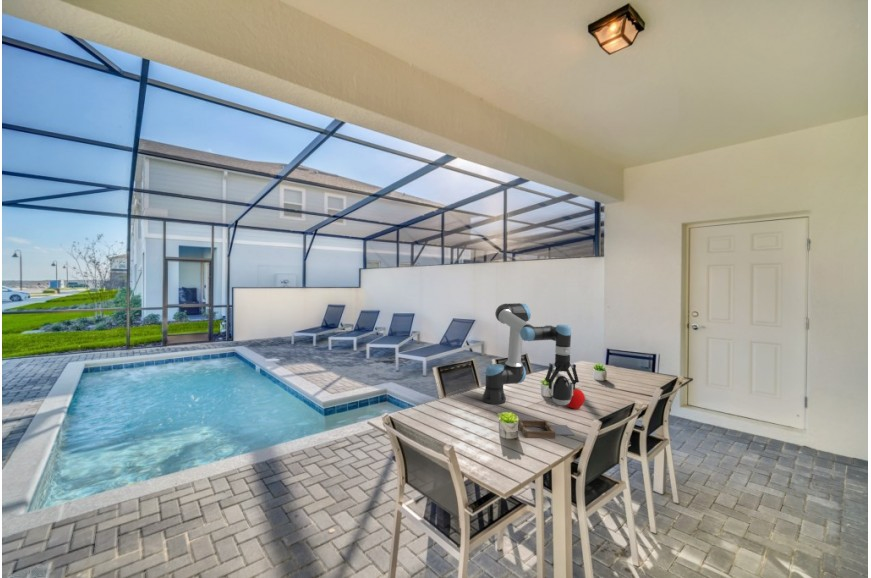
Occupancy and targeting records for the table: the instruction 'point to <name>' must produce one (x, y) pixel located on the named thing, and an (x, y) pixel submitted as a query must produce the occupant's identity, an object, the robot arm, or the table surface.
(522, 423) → the frame
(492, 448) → the table surface
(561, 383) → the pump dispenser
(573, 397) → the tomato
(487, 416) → the table surface
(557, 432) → the rubber mat
